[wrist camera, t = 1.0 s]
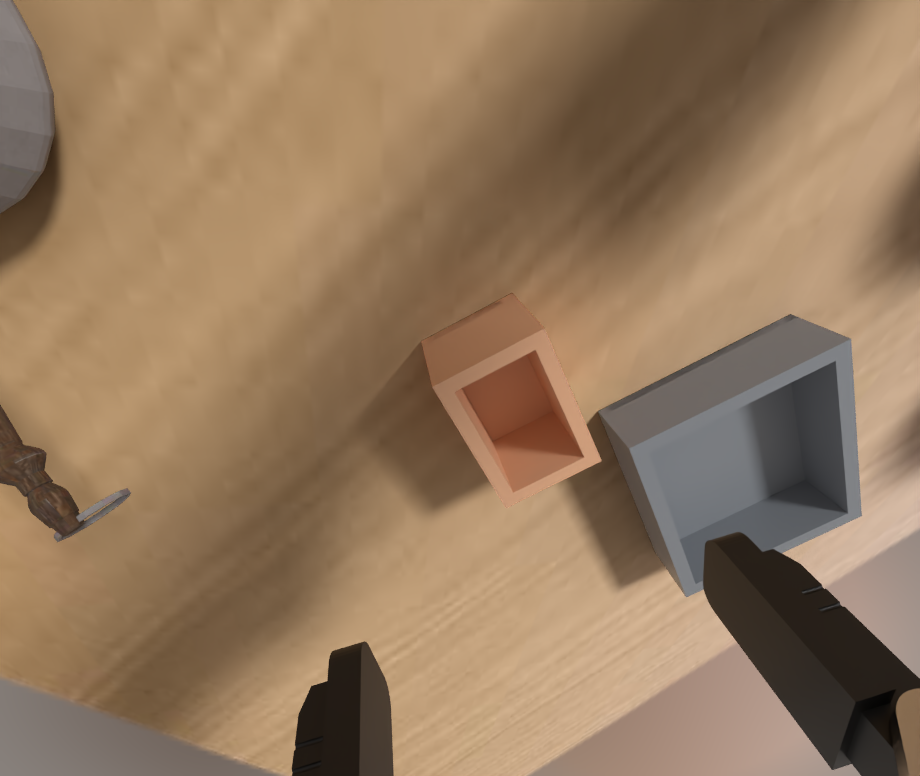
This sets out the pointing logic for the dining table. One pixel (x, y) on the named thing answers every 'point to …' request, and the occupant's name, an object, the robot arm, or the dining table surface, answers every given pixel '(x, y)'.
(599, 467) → the dining table surface
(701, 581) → the grey crate
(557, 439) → the terracotta crate
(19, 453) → the coffee pot
